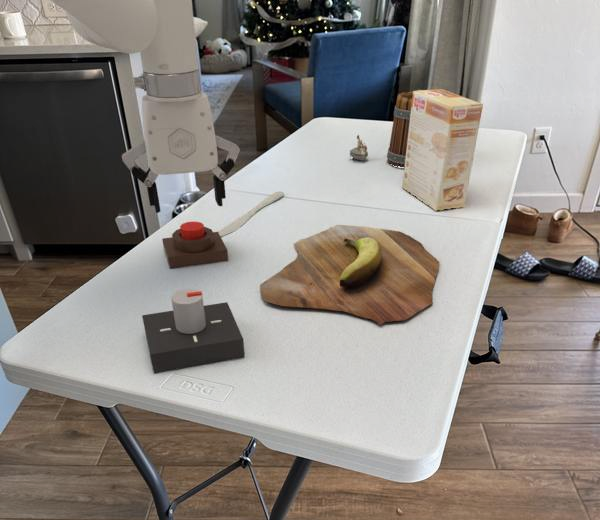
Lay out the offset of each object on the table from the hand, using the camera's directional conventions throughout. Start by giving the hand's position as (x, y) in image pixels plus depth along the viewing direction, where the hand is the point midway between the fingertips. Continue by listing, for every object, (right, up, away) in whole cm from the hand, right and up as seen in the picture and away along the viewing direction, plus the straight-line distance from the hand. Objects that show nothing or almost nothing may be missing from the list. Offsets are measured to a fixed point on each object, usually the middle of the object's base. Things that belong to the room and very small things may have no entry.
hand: (188, 206), depth 91 cm
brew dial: (+3, -21, -13) cm, 25 cm away
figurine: (+32, +29, +53) cm, 68 cm away
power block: (-1, -5, +10) cm, 12 cm away
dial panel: (+3, -23, -11) cm, 26 cm away
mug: (+45, +29, +53) cm, 75 cm away
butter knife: (+8, +6, +25) cm, 27 cm away
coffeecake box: (+46, +13, +33) cm, 58 cm away
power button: (-1, -2, +8) cm, 8 cm away
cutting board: (+27, -8, +7) cm, 29 cm away
